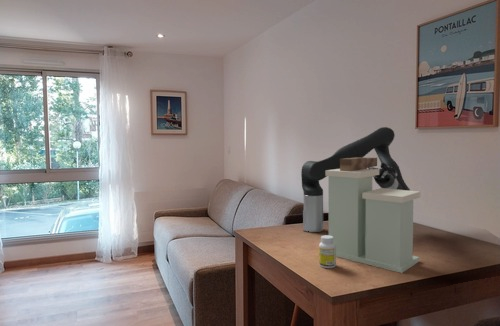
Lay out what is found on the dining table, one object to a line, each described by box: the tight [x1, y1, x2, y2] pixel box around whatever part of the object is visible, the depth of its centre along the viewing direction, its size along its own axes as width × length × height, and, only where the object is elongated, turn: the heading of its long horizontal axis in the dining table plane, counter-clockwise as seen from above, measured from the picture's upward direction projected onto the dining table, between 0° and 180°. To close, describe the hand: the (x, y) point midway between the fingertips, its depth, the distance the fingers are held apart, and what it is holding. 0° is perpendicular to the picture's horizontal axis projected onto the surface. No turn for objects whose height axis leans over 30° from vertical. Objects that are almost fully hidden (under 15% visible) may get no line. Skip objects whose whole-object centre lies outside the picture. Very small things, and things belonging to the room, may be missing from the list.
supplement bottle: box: [318, 234, 337, 269], centre depth 124 cm, size 6×6×10 cm
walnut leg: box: [340, 157, 378, 171], centre depth 139 cm, size 22×4×4 cm, turn 135°
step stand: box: [325, 168, 421, 274], centre depth 131 cm, size 15×29×32 cm, turn 45°
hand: (371, 163), depth 146 cm, fingers open, 8 cm apart
